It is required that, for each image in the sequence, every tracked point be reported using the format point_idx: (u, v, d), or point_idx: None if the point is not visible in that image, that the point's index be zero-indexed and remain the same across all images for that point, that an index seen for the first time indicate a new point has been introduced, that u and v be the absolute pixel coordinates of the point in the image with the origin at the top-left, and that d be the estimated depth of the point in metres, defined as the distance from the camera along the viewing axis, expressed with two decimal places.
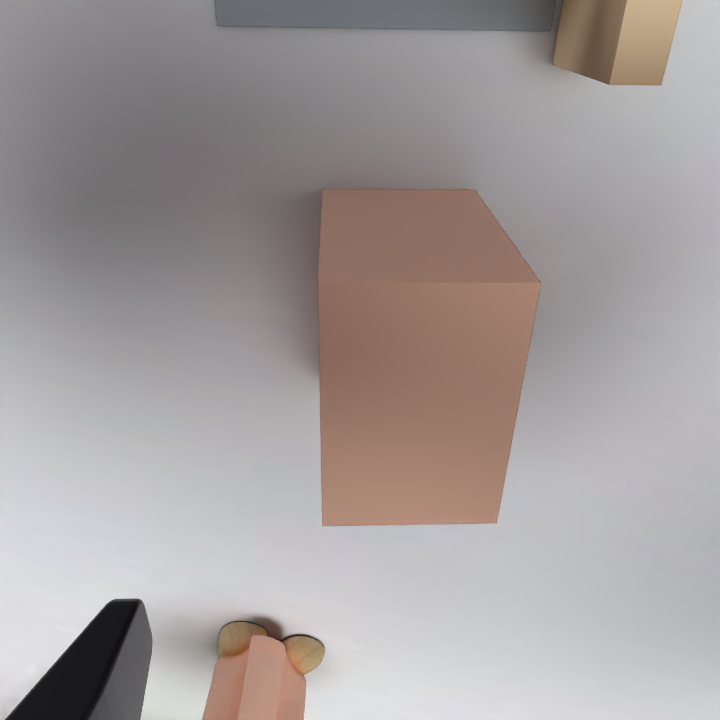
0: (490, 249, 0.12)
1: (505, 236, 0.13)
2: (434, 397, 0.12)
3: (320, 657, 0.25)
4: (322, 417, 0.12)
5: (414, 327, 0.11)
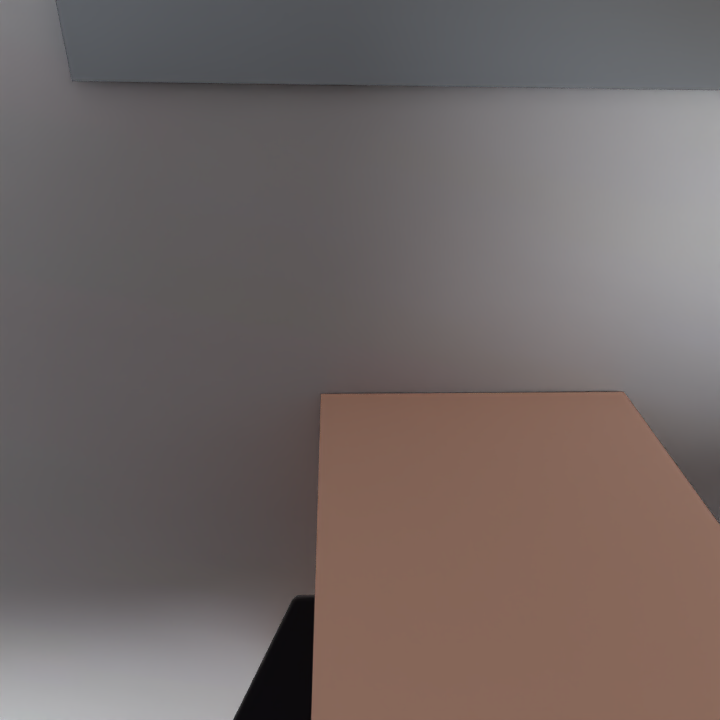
0: None
1: None
2: None
3: None
4: None
5: None
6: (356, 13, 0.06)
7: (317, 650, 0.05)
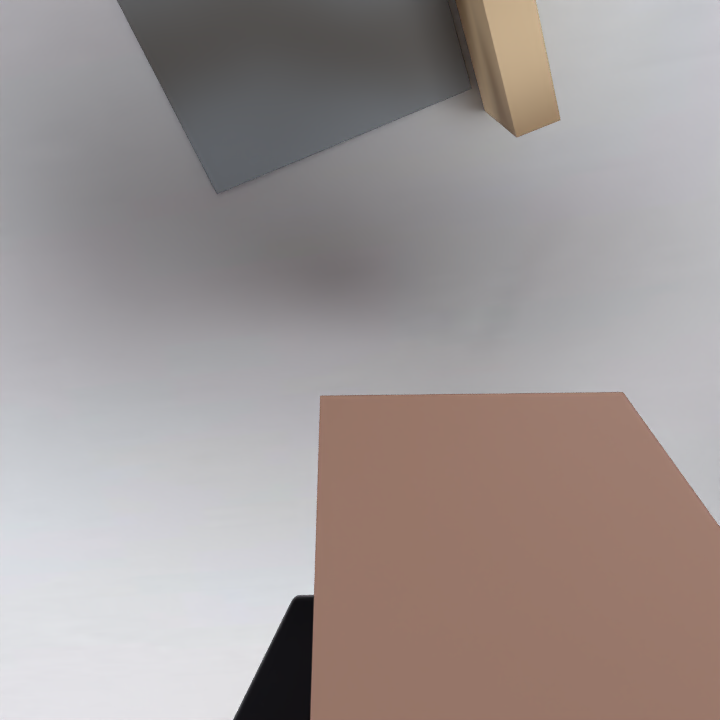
0: None
1: None
2: None
3: None
4: None
5: None
6: (294, 137, 0.17)
7: (316, 652, 0.05)
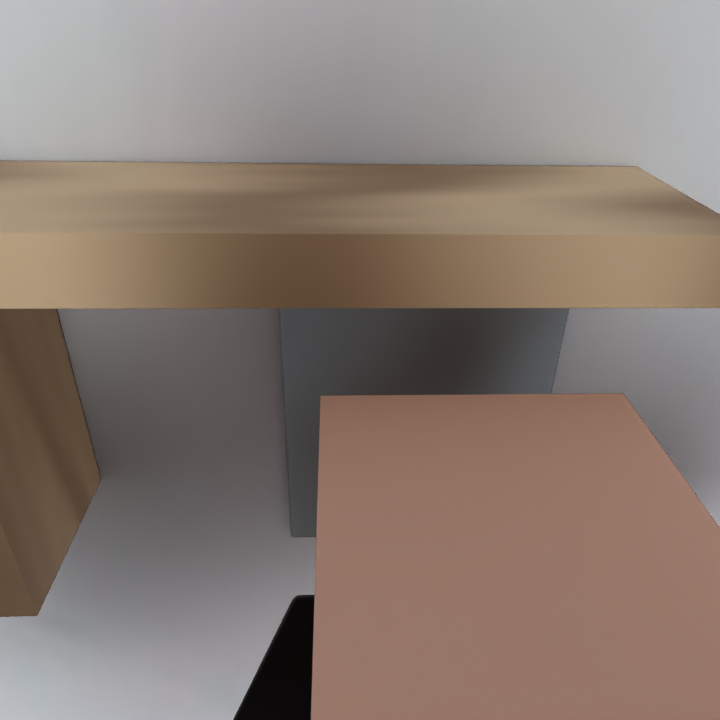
0: None
1: None
2: None
3: None
4: None
5: None
6: None
7: (317, 653, 0.05)
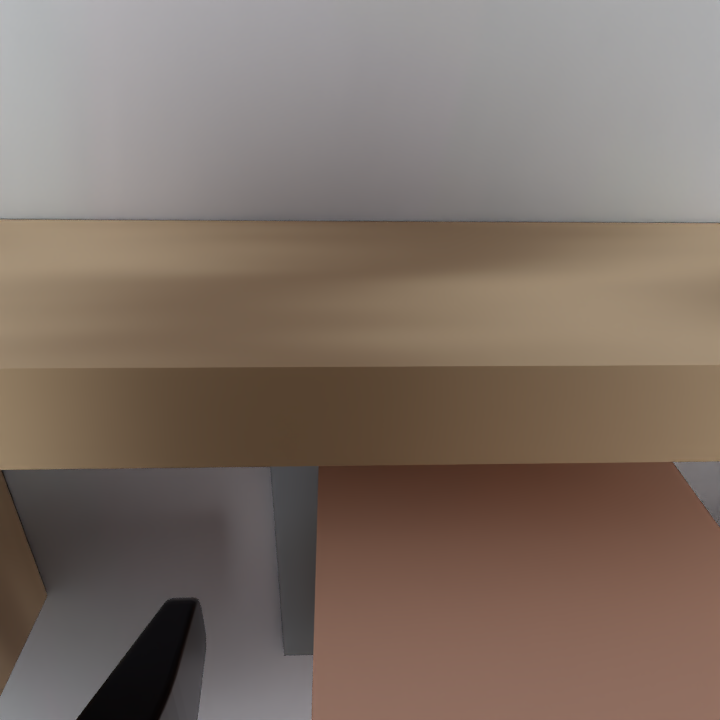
0: None
1: None
2: None
3: None
4: None
5: None
6: None
7: (319, 566, 0.06)
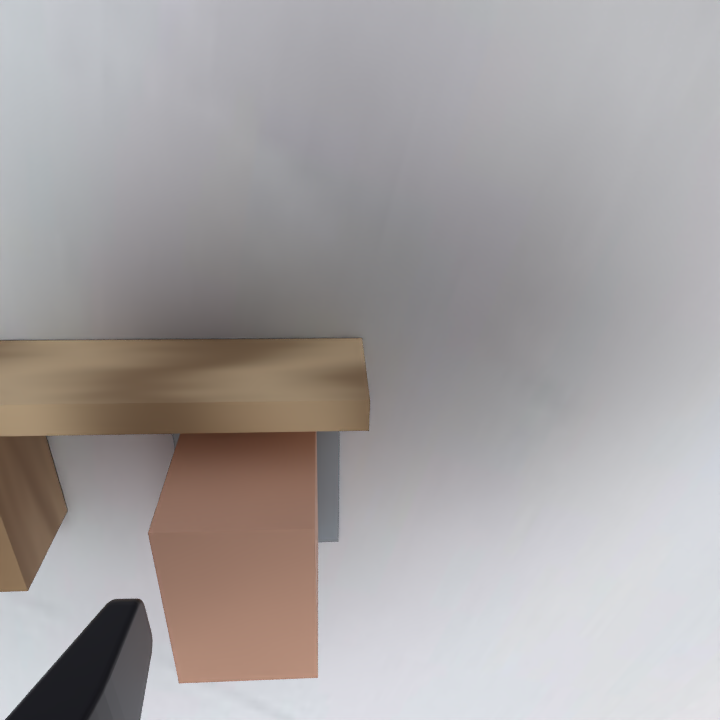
0: (295, 483, 0.16)
1: (313, 464, 0.17)
2: (250, 599, 0.16)
3: None
4: (166, 613, 0.16)
5: (226, 557, 0.15)
6: (322, 488, 0.22)
7: (170, 468, 0.17)
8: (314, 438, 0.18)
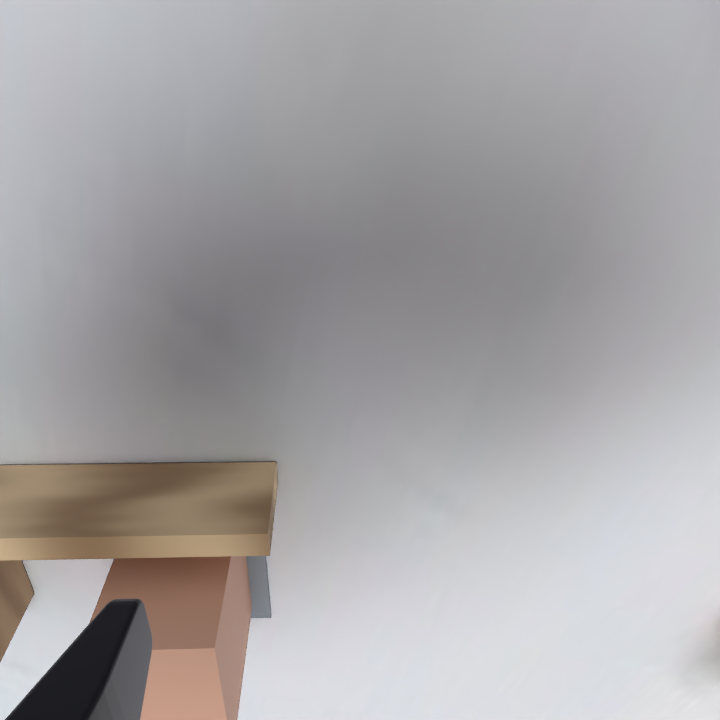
0: (206, 602, 0.20)
1: (224, 581, 0.21)
2: (167, 697, 0.20)
3: None
4: None
5: None
6: (252, 576, 0.26)
7: (105, 584, 0.20)
8: None
